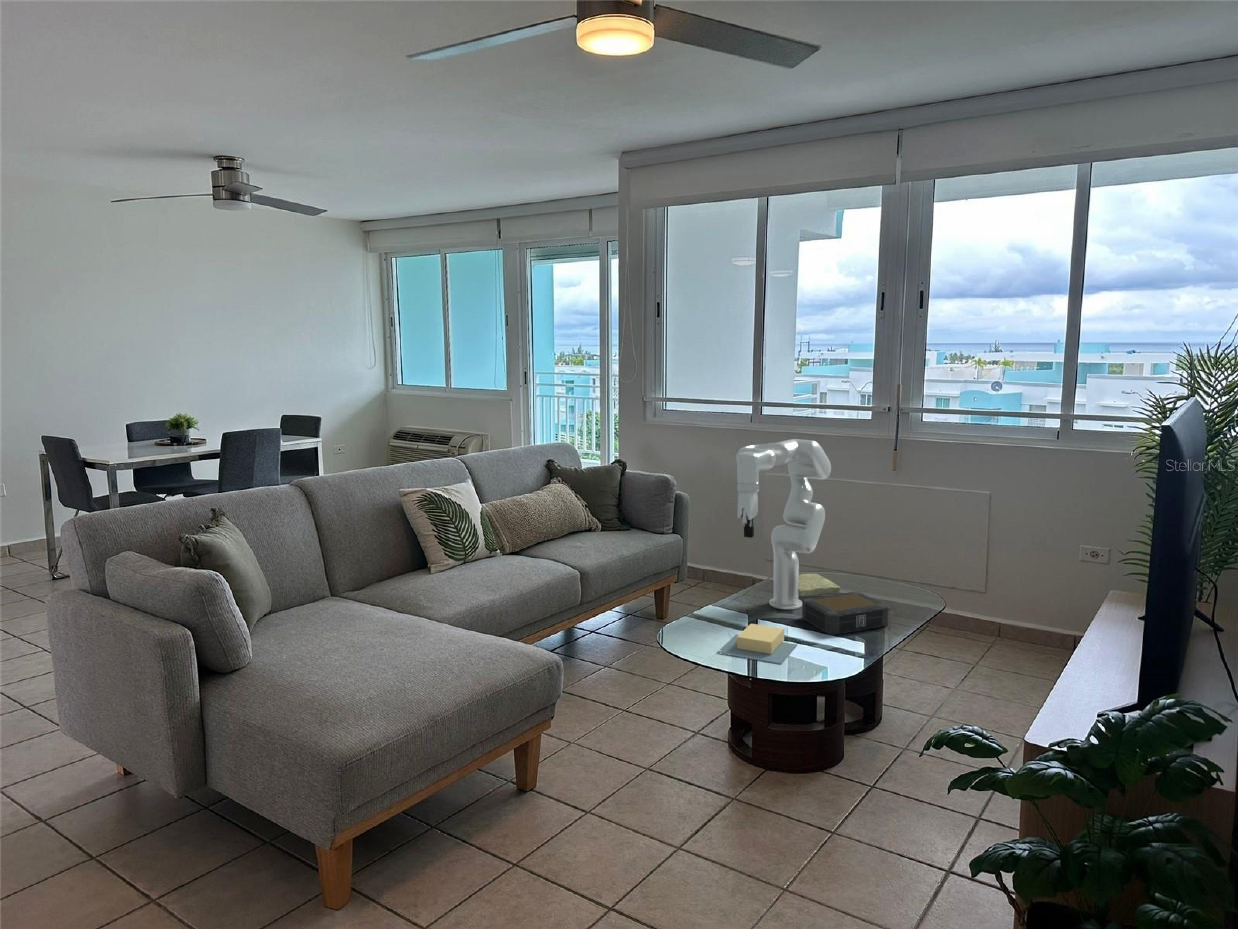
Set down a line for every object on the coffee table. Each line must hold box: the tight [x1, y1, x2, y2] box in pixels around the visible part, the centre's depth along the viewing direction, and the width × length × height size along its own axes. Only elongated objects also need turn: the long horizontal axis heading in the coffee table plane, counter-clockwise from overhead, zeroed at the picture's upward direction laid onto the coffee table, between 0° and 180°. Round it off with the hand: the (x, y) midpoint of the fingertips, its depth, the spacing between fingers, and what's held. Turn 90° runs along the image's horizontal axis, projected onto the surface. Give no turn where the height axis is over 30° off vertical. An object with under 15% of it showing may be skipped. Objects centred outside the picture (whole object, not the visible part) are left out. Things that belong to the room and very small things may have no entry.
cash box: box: [801, 591, 890, 636], centre depth 303 cm, size 25×20×8 cm
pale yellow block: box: [737, 623, 785, 654], centre depth 282 cm, size 4×12×14 cm
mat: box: [716, 634, 798, 665], centre depth 279 cm, size 18×22×1 cm
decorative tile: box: [798, 573, 841, 597], centre depth 345 cm, size 19×20×4 cm
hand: (748, 536), depth 298 cm, fingers closed
